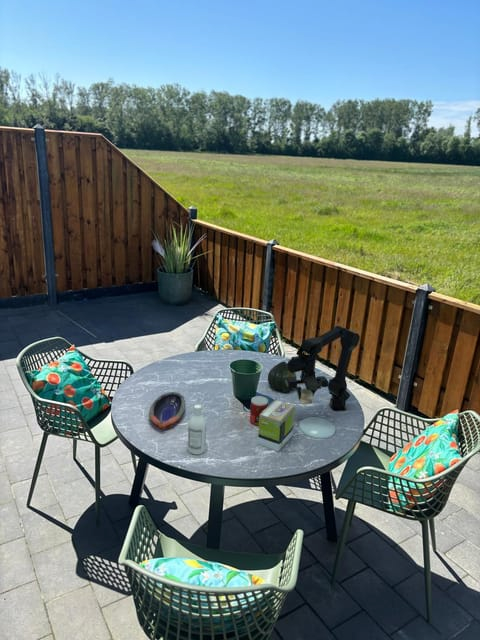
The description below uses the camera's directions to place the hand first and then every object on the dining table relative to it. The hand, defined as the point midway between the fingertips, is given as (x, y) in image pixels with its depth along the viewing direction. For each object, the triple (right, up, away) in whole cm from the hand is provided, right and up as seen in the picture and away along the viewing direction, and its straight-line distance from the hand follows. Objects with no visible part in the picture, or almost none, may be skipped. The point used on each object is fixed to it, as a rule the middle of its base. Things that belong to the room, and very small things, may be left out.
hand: (305, 399), depth 207 cm
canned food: (-21, -11, 0) cm, 24 cm away
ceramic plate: (+5, -13, -3) cm, 14 cm away
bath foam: (-47, -17, -23) cm, 55 cm away
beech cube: (0, -1, 0) cm, 1 cm away
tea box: (-14, -15, -13) cm, 25 cm away
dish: (-63, -8, +2) cm, 63 cm away
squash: (-8, 0, +33) cm, 34 cm away
